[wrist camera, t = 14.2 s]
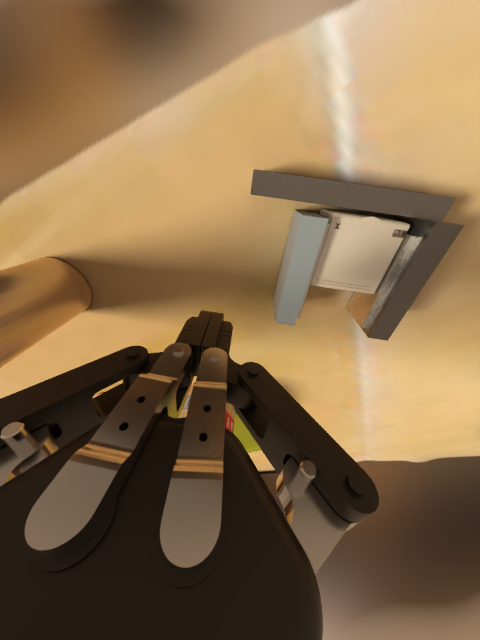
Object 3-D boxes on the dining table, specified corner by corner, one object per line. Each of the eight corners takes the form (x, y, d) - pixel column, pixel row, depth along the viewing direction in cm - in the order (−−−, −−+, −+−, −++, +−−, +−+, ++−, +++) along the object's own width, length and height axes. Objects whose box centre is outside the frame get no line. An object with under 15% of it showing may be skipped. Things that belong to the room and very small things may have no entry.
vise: (239, 294, 31) (234, 317, 25) (254, 172, 22) (252, 166, 17) (364, 312, 30) (387, 340, 25) (426, 196, 22) (481, 199, 17)
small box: (301, 271, 28) (308, 286, 24) (320, 207, 24) (333, 210, 20) (357, 279, 28) (374, 296, 24) (386, 216, 24) (414, 222, 19)
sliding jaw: (272, 300, 30) (275, 322, 25) (294, 209, 24) (302, 215, 19) (292, 303, 30) (299, 326, 25) (319, 213, 24) (335, 219, 19)
